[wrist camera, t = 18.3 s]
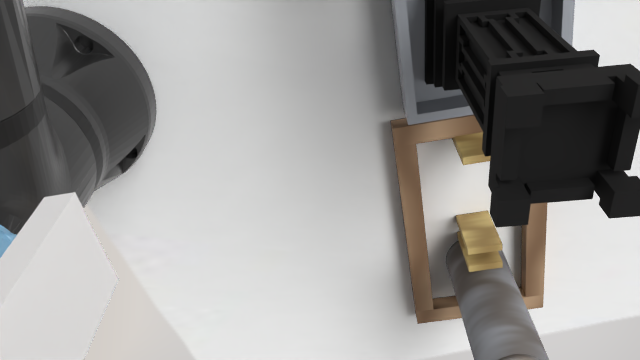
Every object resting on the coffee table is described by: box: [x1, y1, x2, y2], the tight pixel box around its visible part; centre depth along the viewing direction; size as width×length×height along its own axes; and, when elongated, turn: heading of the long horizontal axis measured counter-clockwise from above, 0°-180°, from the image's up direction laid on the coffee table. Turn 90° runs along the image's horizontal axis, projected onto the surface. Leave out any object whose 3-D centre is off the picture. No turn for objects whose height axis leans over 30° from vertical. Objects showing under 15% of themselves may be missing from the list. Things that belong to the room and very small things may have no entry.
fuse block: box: [391, 114, 549, 360], centre depth 48 cm, size 13×24×15 cm, turn 10°
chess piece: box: [425, 0, 640, 227], centre depth 35 cm, size 8×8×20 cm
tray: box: [391, 0, 575, 125], centre depth 43 cm, size 13×13×3 cm
